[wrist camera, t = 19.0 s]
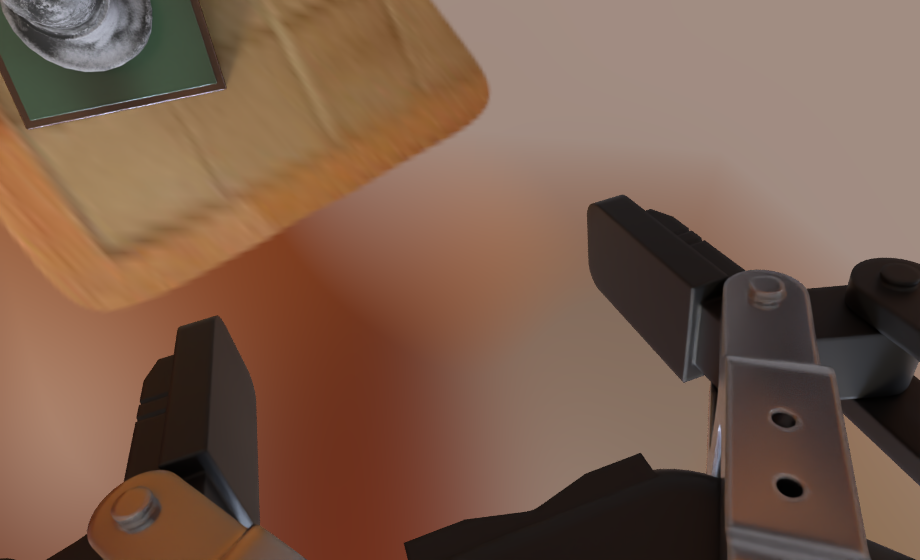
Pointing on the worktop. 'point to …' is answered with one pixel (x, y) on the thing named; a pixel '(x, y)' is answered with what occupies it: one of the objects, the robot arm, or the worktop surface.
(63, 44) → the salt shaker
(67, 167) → the worktop surface
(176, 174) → the worktop surface
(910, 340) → the robot arm
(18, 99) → the walnut stand
